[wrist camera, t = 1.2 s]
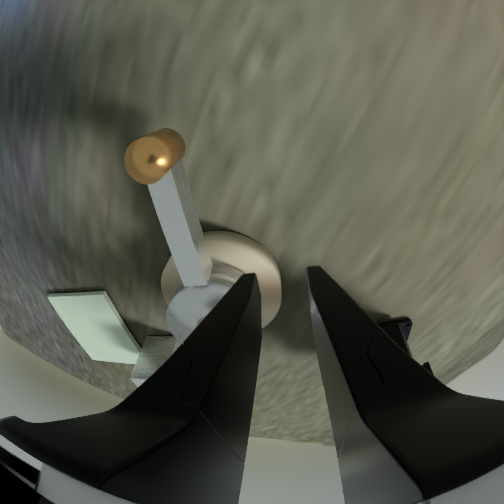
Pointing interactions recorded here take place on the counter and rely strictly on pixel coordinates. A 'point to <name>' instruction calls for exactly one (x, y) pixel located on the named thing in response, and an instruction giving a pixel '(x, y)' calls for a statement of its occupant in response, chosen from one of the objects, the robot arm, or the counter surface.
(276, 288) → the base
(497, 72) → the counter surface
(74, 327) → the mat
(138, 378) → the grey rectangular block
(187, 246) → the crank handle
